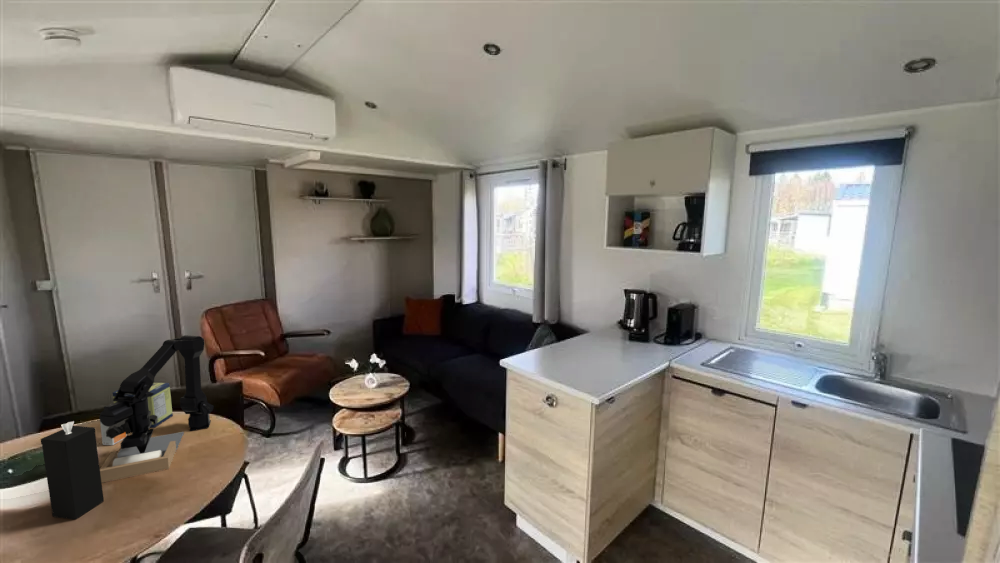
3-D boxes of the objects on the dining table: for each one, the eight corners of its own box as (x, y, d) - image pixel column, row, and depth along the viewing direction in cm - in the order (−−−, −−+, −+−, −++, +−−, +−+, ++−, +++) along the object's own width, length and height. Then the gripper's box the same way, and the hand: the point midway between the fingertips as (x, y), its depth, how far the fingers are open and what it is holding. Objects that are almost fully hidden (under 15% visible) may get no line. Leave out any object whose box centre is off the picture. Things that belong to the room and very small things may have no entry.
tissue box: (104, 501, 125) (93, 417, 121) (75, 520, 117) (63, 430, 113) (81, 499, 126) (70, 415, 122) (51, 517, 118) (38, 428, 114)
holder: (183, 433, 164) (182, 423, 164) (168, 468, 142) (167, 457, 141) (125, 443, 156) (124, 433, 155) (99, 483, 133) (98, 471, 133)
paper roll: (162, 457, 146) (160, 446, 145) (159, 468, 142) (157, 457, 141) (118, 466, 141) (115, 455, 139) (113, 477, 137) (110, 466, 135)
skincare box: (113, 445, 154) (109, 416, 153) (102, 445, 155) (98, 415, 153) (128, 437, 160) (124, 408, 159) (117, 436, 161) (114, 408, 159)
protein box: (136, 415, 177) (132, 382, 175) (173, 416, 178) (170, 382, 176) (115, 428, 167) (111, 392, 164) (155, 428, 168) (151, 392, 165)
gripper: (117, 405, 147) (121, 445, 150) (97, 429, 131) (102, 473, 134) (156, 399, 153) (160, 438, 155) (141, 422, 136) (146, 464, 139)
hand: (142, 452), depth 145 cm, fingers closed
